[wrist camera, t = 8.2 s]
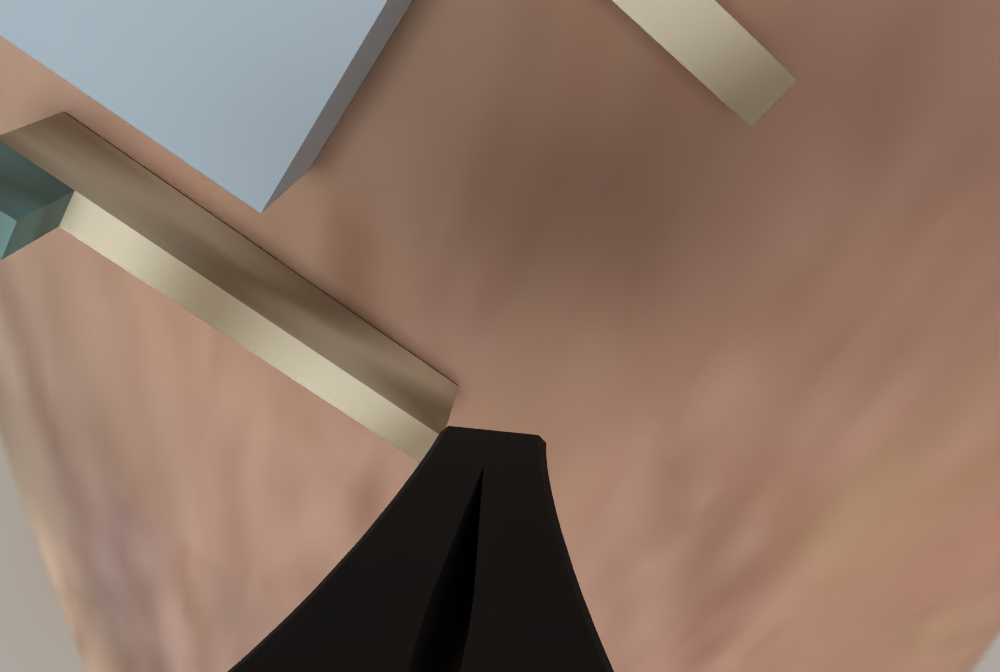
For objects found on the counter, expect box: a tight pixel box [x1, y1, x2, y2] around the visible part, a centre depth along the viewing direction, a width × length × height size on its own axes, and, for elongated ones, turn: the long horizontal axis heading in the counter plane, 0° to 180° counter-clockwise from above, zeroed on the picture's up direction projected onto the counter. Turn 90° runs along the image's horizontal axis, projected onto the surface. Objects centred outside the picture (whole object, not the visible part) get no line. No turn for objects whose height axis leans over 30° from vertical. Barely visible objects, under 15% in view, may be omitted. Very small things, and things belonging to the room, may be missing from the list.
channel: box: [0, 0, 797, 461], centre depth 16 cm, size 13×13×4 cm
